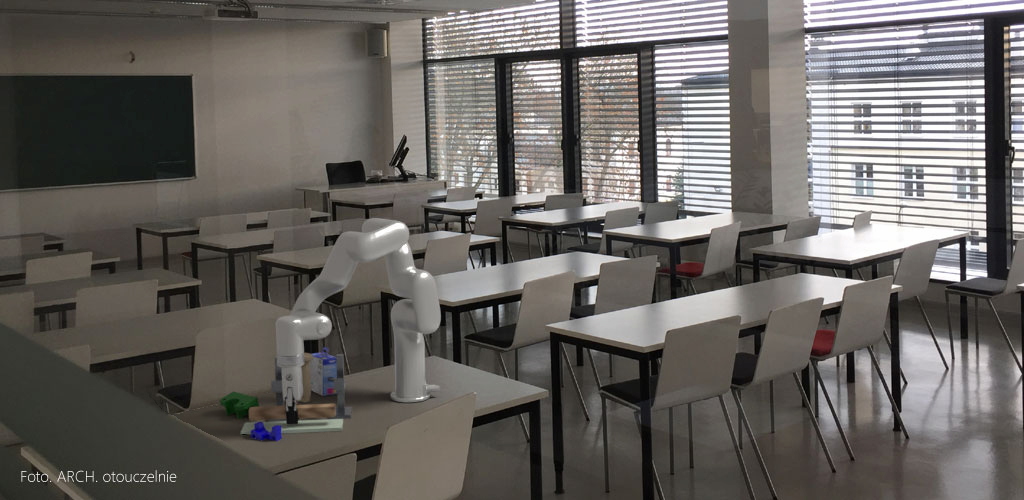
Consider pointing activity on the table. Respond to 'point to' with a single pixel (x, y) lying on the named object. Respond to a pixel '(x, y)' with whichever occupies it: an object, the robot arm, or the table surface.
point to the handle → (306, 378)
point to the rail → (303, 410)
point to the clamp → (238, 404)
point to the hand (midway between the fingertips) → (293, 421)
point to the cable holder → (266, 432)
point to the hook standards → (338, 385)
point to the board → (299, 426)
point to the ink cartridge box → (323, 373)
